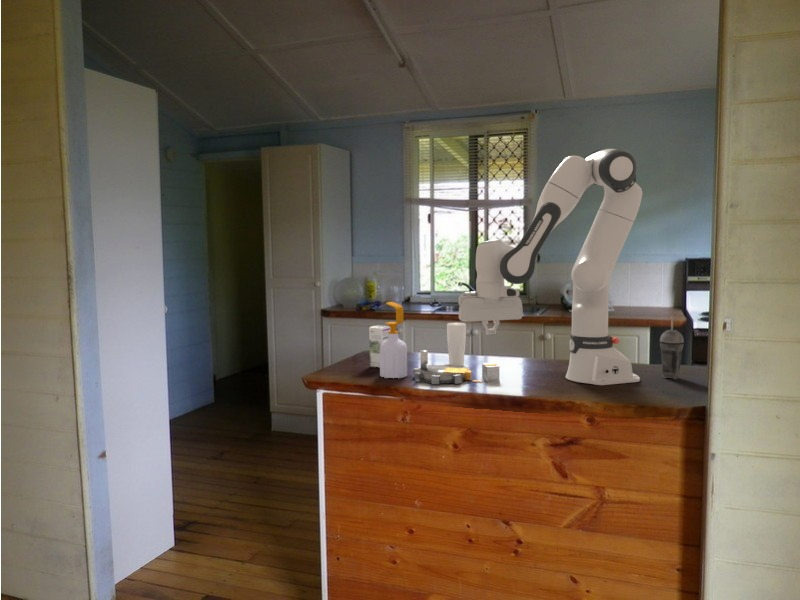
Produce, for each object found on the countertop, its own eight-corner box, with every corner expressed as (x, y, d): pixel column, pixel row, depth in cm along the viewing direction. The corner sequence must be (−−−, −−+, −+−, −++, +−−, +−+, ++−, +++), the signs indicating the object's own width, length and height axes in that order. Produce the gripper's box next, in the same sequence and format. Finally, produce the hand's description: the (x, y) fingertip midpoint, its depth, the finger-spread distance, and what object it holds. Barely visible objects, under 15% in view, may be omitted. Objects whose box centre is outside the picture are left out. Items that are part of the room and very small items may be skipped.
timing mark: (472, 381, 195) (472, 380, 195) (473, 381, 196) (473, 380, 196) (481, 382, 193) (481, 381, 193) (482, 381, 194) (482, 380, 194)
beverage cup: (658, 379, 195) (660, 316, 193) (657, 374, 201) (659, 314, 199) (684, 381, 192) (686, 317, 190) (682, 376, 199) (684, 314, 197)
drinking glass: (466, 363, 223) (465, 322, 222) (466, 367, 216) (466, 325, 215) (447, 363, 224) (447, 322, 222) (446, 367, 217) (446, 325, 215)
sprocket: (421, 370, 211) (421, 345, 210) (476, 373, 205) (476, 347, 205) (406, 382, 193) (405, 355, 192) (465, 386, 187) (465, 358, 187)
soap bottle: (389, 372, 210) (388, 300, 208) (412, 374, 206) (411, 301, 203) (374, 377, 203) (373, 303, 200) (398, 380, 198) (397, 304, 196)
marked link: (494, 377, 200) (494, 362, 200) (499, 382, 194) (499, 366, 194) (482, 378, 200) (482, 362, 199) (486, 382, 194) (487, 366, 193)
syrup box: (391, 365, 221) (391, 325, 219) (382, 368, 216) (381, 327, 214) (378, 364, 224) (377, 324, 222) (369, 367, 219) (368, 326, 217)
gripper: (460, 293, 190) (461, 337, 191) (524, 290, 193) (524, 334, 194) (455, 291, 196) (456, 334, 198) (518, 289, 199) (518, 331, 200)
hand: (491, 334), depth 196 cm, fingers closed
